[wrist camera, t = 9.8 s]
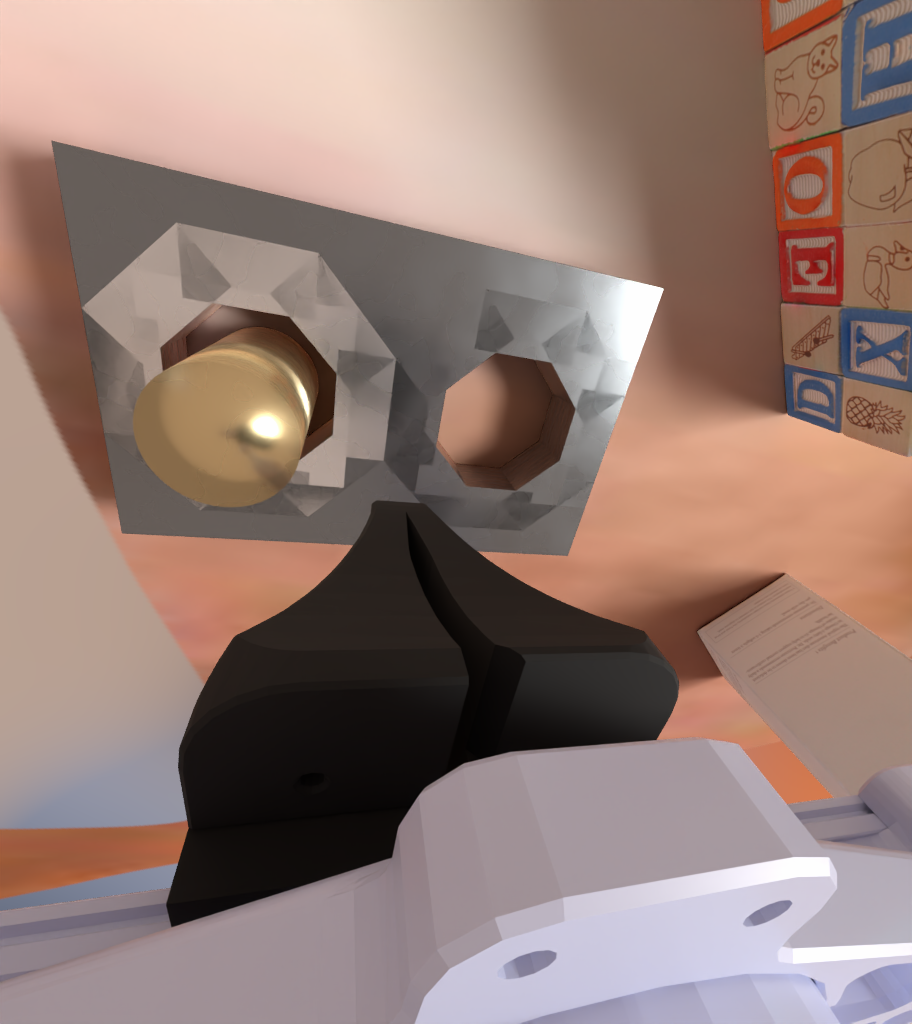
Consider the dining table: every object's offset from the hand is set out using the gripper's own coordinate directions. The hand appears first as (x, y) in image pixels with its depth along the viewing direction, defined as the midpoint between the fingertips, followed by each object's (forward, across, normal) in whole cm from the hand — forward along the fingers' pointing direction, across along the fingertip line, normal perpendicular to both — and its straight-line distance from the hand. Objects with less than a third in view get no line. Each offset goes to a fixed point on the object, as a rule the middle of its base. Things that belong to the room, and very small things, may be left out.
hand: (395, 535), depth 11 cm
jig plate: (+9, 0, -1) cm, 9 cm away
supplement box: (+10, -28, +12) cm, 32 cm away
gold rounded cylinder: (+9, +5, -1) cm, 10 cm away
